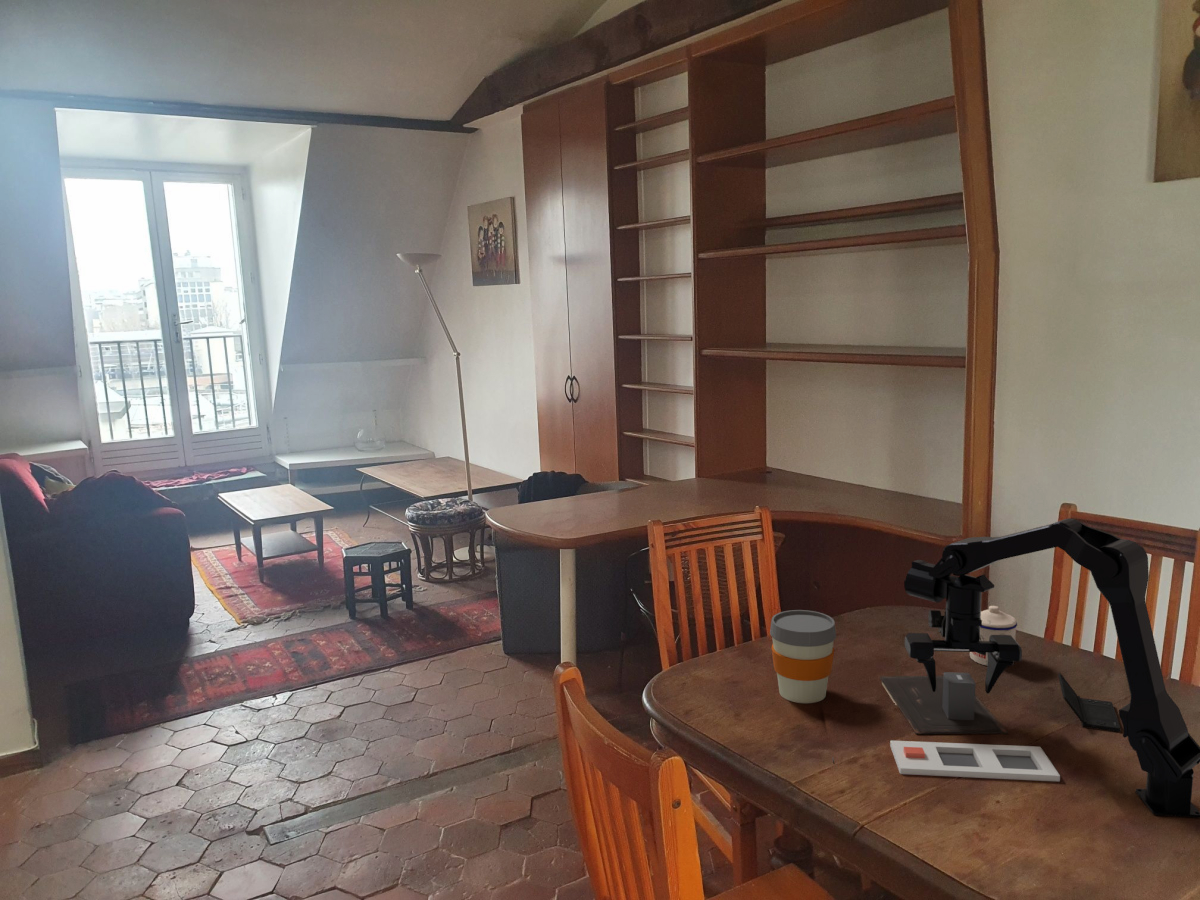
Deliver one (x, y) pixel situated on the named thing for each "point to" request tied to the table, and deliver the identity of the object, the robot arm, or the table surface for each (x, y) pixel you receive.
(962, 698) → the block
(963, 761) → the power strip
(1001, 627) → the teacup with lid
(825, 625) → the reusable coffee cup
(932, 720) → the hardcover book
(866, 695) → the table surface
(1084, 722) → the handheld gaming console
